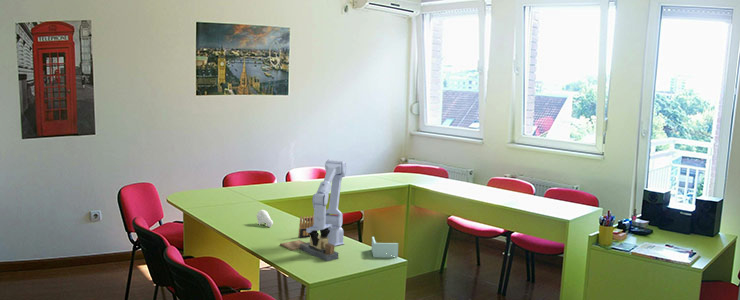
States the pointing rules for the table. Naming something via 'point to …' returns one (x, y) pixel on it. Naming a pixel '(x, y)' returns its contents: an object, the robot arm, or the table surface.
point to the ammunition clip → (305, 226)
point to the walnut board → (292, 245)
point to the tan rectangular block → (320, 242)
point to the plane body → (320, 251)
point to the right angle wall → (384, 249)
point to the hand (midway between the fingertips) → (318, 244)
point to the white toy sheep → (264, 218)
